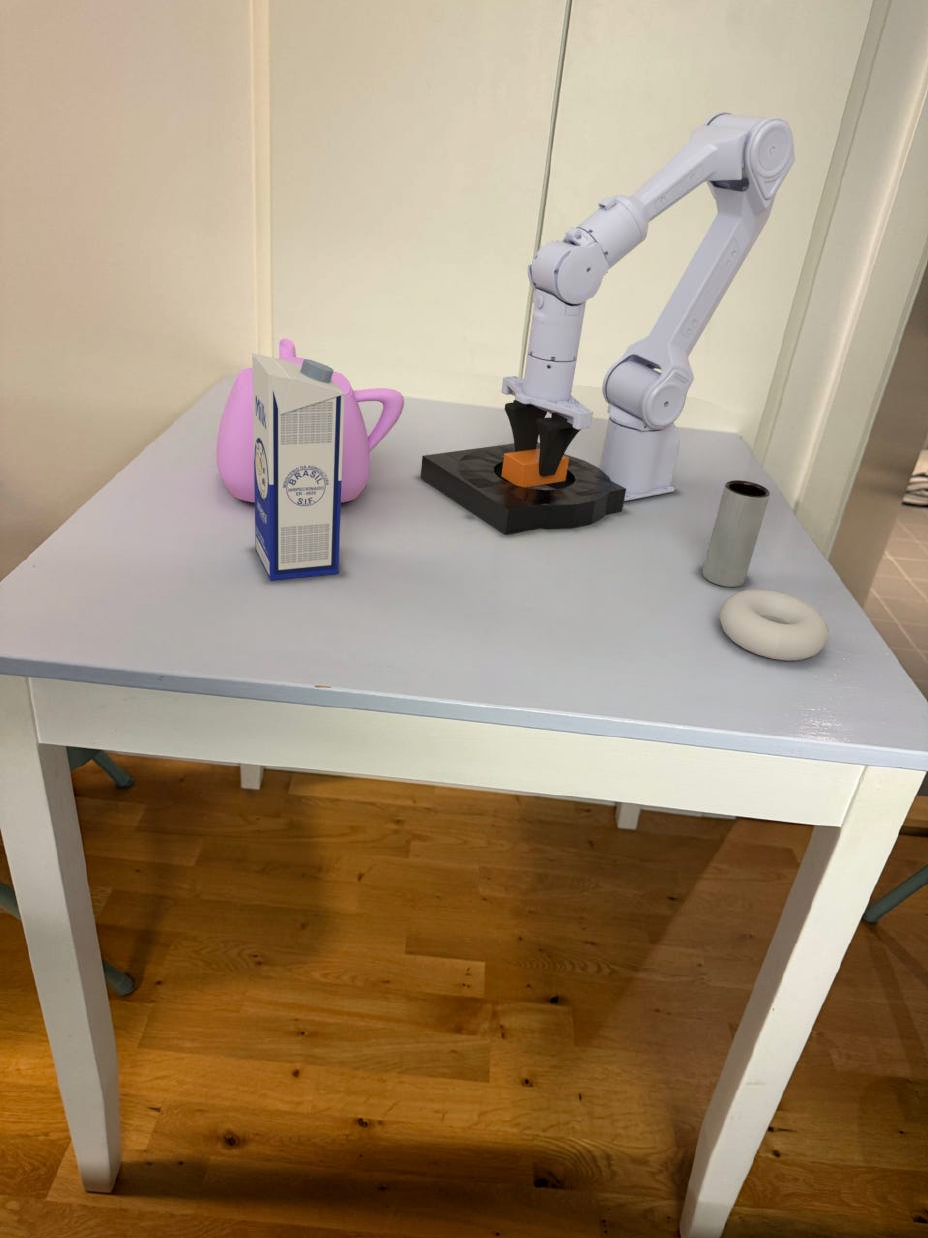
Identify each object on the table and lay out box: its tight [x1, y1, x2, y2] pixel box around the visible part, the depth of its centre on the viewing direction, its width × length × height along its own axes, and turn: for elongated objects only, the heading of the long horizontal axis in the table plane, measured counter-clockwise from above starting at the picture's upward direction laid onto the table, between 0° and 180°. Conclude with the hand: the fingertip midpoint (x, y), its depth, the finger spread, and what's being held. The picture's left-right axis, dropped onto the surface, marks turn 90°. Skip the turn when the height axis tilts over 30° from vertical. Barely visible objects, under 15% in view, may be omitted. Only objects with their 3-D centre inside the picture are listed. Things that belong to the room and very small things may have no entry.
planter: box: [701, 479, 771, 588], centre depth 94 cm, size 4×4×10 cm
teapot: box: [216, 338, 405, 504], centre depth 105 cm, size 23×21×15 cm
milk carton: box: [251, 353, 345, 582], centre depth 84 cm, size 7×7×20 cm
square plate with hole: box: [420, 441, 626, 536], centre depth 110 cm, size 20×20×3 cm
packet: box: [502, 449, 569, 488], centre depth 109 cm, size 7×4×3 cm, turn 124°
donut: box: [719, 589, 829, 662], centre depth 85 cm, size 10×4×10 cm
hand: (535, 467), depth 109 cm, fingers closed on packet, 4 cm apart
